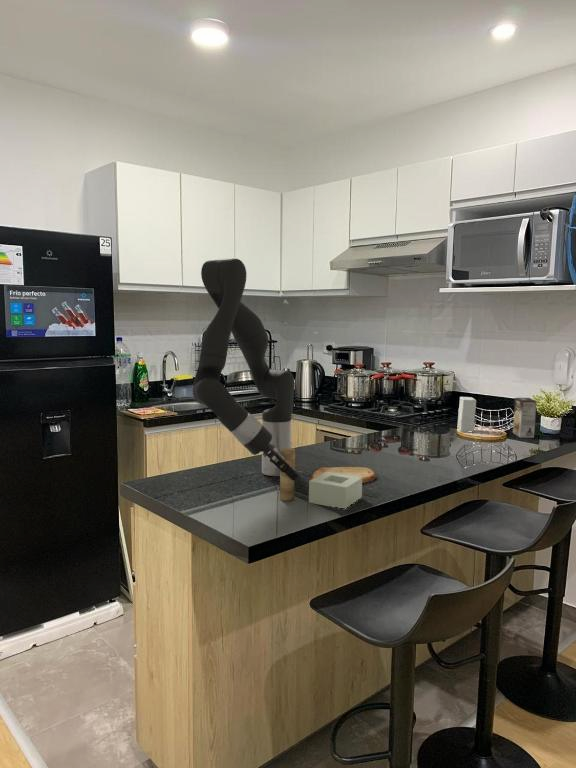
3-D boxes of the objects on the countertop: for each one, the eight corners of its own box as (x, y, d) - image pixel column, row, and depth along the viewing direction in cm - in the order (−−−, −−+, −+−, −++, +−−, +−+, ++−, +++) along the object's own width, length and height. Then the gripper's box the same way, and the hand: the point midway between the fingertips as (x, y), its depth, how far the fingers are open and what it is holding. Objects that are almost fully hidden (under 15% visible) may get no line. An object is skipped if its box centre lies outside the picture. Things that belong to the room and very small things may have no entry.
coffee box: (511, 433, 255) (514, 397, 253) (526, 433, 255) (528, 397, 253) (519, 437, 246) (522, 400, 244) (534, 438, 246) (537, 400, 244)
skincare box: (456, 428, 263) (458, 396, 261) (470, 429, 263) (472, 396, 261) (460, 432, 255) (462, 399, 253) (474, 432, 255) (476, 399, 253)
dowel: (284, 495, 163) (285, 447, 161) (296, 498, 161) (297, 448, 159) (277, 499, 159) (277, 449, 157) (289, 502, 157) (290, 451, 156)
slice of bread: (378, 476, 185) (379, 464, 185) (364, 491, 169) (364, 479, 168) (325, 469, 192) (326, 458, 191) (306, 484, 175) (307, 472, 175)
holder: (326, 491, 167) (326, 471, 166) (361, 498, 161) (362, 477, 161) (308, 502, 157) (309, 480, 156) (345, 509, 152) (346, 487, 151)
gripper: (264, 429, 149) (309, 473, 153) (257, 419, 163) (298, 459, 167) (244, 449, 149) (289, 493, 152) (238, 437, 163) (280, 478, 166)
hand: (294, 475), depth 160 cm, fingers closed on dowel, 4 cm apart
